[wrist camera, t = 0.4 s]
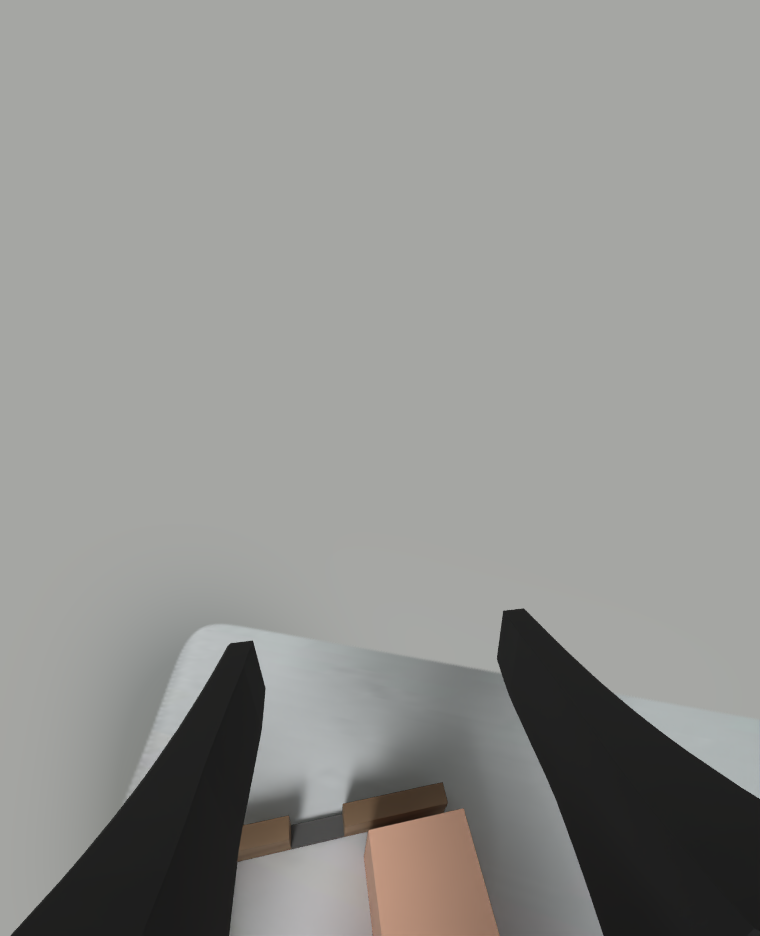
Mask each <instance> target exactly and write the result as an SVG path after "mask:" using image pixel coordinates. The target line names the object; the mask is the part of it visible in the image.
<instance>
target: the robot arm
mask: <svg viewBox="0 0 760 936" xmlns="http://www.w3.org/2000/svg"><path fill="white" fill-rule="evenodd" d="M497 660H498V663H499V667H500V670H501V673H502V676H503V679H504V682H505V685H506V688H507V691H508V693H509V696H510V698H511V701H512V703H513V705H514V707H515V710H516V712H517V714H518V716H519V718H520V721H521V723H522V725H523V727H524V729H525V732H526V734H527V736H528V738H529V740H530V743H531V745H532V747H533V749H534V751H535V753H536V756H537V758H538V760H539V762H540V764H541V766H542V769H543V771H544V773H545V775H546V777H547V780H548V782H549V784H550V787H551V789H552V791H553V794H554V796H555V798H556V801H557V804H558V806H559V809H560V812H561V814H562V817H563V820H564V823H565V825H566V828H567V831H568V834H569V836H570V839H571V842H572V844H573V847H574V850H575V853H576V856H577V859H578V862H579V864H580V867H581V870H582V873H583V876H584V879H585V882H586V884H587V887H588V890H589V893H590V896H591V899H592V902H593V905H594V908H595V911H596V914H597V917H598V920H599V923H600V926H601V929H602V932H603V935H604V936H760V799H759V798H757V797H756V796H754V795H752V794H751V793H749V792H748V791H746V790H744V789H743V788H741V787H740V786H738V785H737V784H735V783H734V782H732V781H731V780H729V779H728V778H726V777H725V776H723V775H722V774H720V773H719V772H717V771H716V770H714V769H713V768H711V767H710V766H709V765H707V764H706V763H704V762H703V761H701V760H700V759H698V758H697V757H695V756H694V755H692V754H691V753H689V752H688V751H686V750H685V749H684V748H682V747H681V746H680V745H678V744H677V743H675V742H674V741H673V740H671V739H670V738H669V737H667V736H666V735H665V734H663V733H662V732H661V731H659V730H658V729H657V728H655V727H654V726H653V725H652V724H650V723H649V722H648V721H646V720H645V719H644V718H643V717H641V716H640V715H639V714H638V713H636V712H635V711H634V710H633V709H631V708H630V707H629V706H628V705H627V704H625V703H624V702H623V701H622V700H621V699H619V698H618V697H617V696H616V695H615V694H614V693H612V692H611V691H610V690H609V689H608V688H607V687H605V686H604V685H603V684H602V683H601V682H600V681H599V680H597V679H596V678H595V677H594V676H593V675H592V674H591V673H590V672H589V671H587V670H586V669H585V668H584V667H583V666H582V665H581V664H580V663H579V662H578V661H577V660H576V659H574V657H572V656H571V655H570V654H569V653H568V652H567V651H566V650H565V649H564V648H563V647H562V646H561V645H560V644H559V643H558V642H557V641H556V640H555V639H554V638H553V637H552V636H551V635H550V634H549V633H548V632H547V631H546V630H545V629H544V628H543V627H542V626H541V625H540V624H539V623H538V622H537V621H536V620H535V619H534V618H533V617H532V616H531V615H530V614H529V613H528V612H527V611H526V610H525V609H515V610H507V611H503V617H502V625H501V632H500V640H499V647H498V655H497ZM264 699H265V685H264V681H263V677H262V674H261V670H260V666H259V662H258V658H257V654H256V651H255V647H254V643H253V641H246V642H238V643H230V644H229V645H228V647H227V648H226V650H225V652H224V654H223V655H222V657H221V659H220V661H219V663H218V664H217V666H216V668H215V670H214V671H213V673H212V675H211V677H210V678H209V680H208V682H207V683H206V685H205V687H204V688H203V690H202V692H201V693H200V695H199V697H198V698H197V700H196V701H195V703H194V704H193V706H192V708H191V709H190V711H189V712H188V714H187V716H186V717H185V719H184V720H183V722H182V723H181V725H180V727H179V728H178V730H177V731H176V733H175V734H174V735H173V737H172V738H171V740H170V741H169V743H168V744H167V746H166V747H165V749H164V750H163V751H162V753H161V754H160V756H159V757H158V759H157V760H156V762H155V763H154V764H153V766H152V767H151V769H150V770H149V771H148V773H147V774H146V776H145V777H144V778H143V780H142V781H141V782H140V784H139V785H138V786H137V788H136V789H135V790H134V792H133V793H132V794H131V796H130V797H129V798H128V799H127V801H126V802H125V803H124V805H123V806H122V807H121V809H120V810H119V811H118V812H117V814H116V815H115V816H114V818H113V819H112V820H111V821H110V823H109V824H108V825H107V826H106V827H105V828H104V830H103V831H102V832H101V834H100V835H99V836H98V837H97V838H96V839H95V841H94V842H93V843H92V844H91V846H90V847H89V848H88V849H87V850H86V852H85V853H84V854H83V855H82V856H81V858H80V859H79V860H78V861H77V862H76V863H75V864H74V866H73V867H72V868H71V869H70V870H69V872H68V873H67V874H66V875H65V876H64V877H63V878H62V880H61V881H60V882H59V883H58V884H57V885H56V886H55V887H54V888H53V889H52V891H51V892H50V893H49V894H48V895H47V896H46V897H45V898H44V900H42V902H41V903H40V904H39V905H38V906H37V907H36V908H35V909H34V910H33V911H32V913H31V914H30V915H29V916H28V917H27V918H26V919H25V920H24V921H23V922H22V924H21V925H20V926H19V927H18V928H17V929H16V930H15V931H14V932H13V934H12V935H11V936H229V931H230V922H231V912H232V903H233V895H234V886H235V878H236V869H237V861H238V853H239V846H240V840H241V834H242V828H243V823H244V818H245V813H246V808H247V803H248V798H249V792H250V787H251V782H252V777H253V772H254V767H255V762H256V757H257V751H258V746H259V741H260V736H261V730H262V721H263V711H264Z"/></svg>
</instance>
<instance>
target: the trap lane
mask: <svg viewBox="0 0 760 936" xmlns="http://www.w3.org/2000/svg"><path fill="white" fill-rule="evenodd" d="M447 804H448V801H447V797H446V794H445V790H444V786H443V782H442V783H437V784H432V785H428V786H423V787H418V788H414V789H409V790H405V791H400V792H395V793H391V794H386V795H381V796H377V797H372V798H367V799H363V800H358V801H354V802H349V803H344V804H343V810H342V814H340V815H335V816H331V817H326V818H322V819H317V820H313V821H308V822H304V823H299V824H295V825H291V823H290V818H289V816H284V817H280V818H275V819H270V820H266V821H261V822H256V823H252V824H247V825H243V828H242V834H241V840H240V846H239V853H238V861H237V862H239V861H243V860H247V859H252V858H256V857H260V856H265V855H269V854H273V853H277V852H282V851H286V850H290V849H295V848H299V847H303V846H308V845H312V844H316V843H320V842H325V841H329V840H333V839H338V838H342V837H346V836H351V835H355V834H359V833H363V832H368V831H369V830H372V829H376V828H380V827H385V826H389V825H393V824H398V823H402V822H407V821H411V820H415V819H420V818H424V817H428V816H433V815H437V814H441V813H443V812H444V810H445V808H446V806H447Z"/></svg>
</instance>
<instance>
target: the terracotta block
mask: <svg viewBox="0 0 760 936" xmlns="http://www.w3.org/2000/svg"><path fill="white" fill-rule="evenodd" d="M364 862H365V870H366V879H367V888H368V897H369V906H370V914H371V923H372V932H373V936H499V932H498V928H497V925H496V921H495V918H494V914H493V911H492V907H491V904H490V900H489V897H488V893H487V889H486V886H485V882H484V879H483V875H482V872H481V868H480V865H479V861H478V858H477V854H476V851H475V847H474V843H473V840H472V836H471V833H470V829H469V826H468V822H467V819H466V815H465V812H464V808H463V809H459V810H454V811H450V812H446V813H441V814H437V815H433V816H428V817H424V818H420V819H415V820H411V821H407V822H402V823H398V824H393V825H389V826H385V827H380V828H376V829H372V830H369V831H368V836H367V842H366V847H365V853H364Z"/></svg>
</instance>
